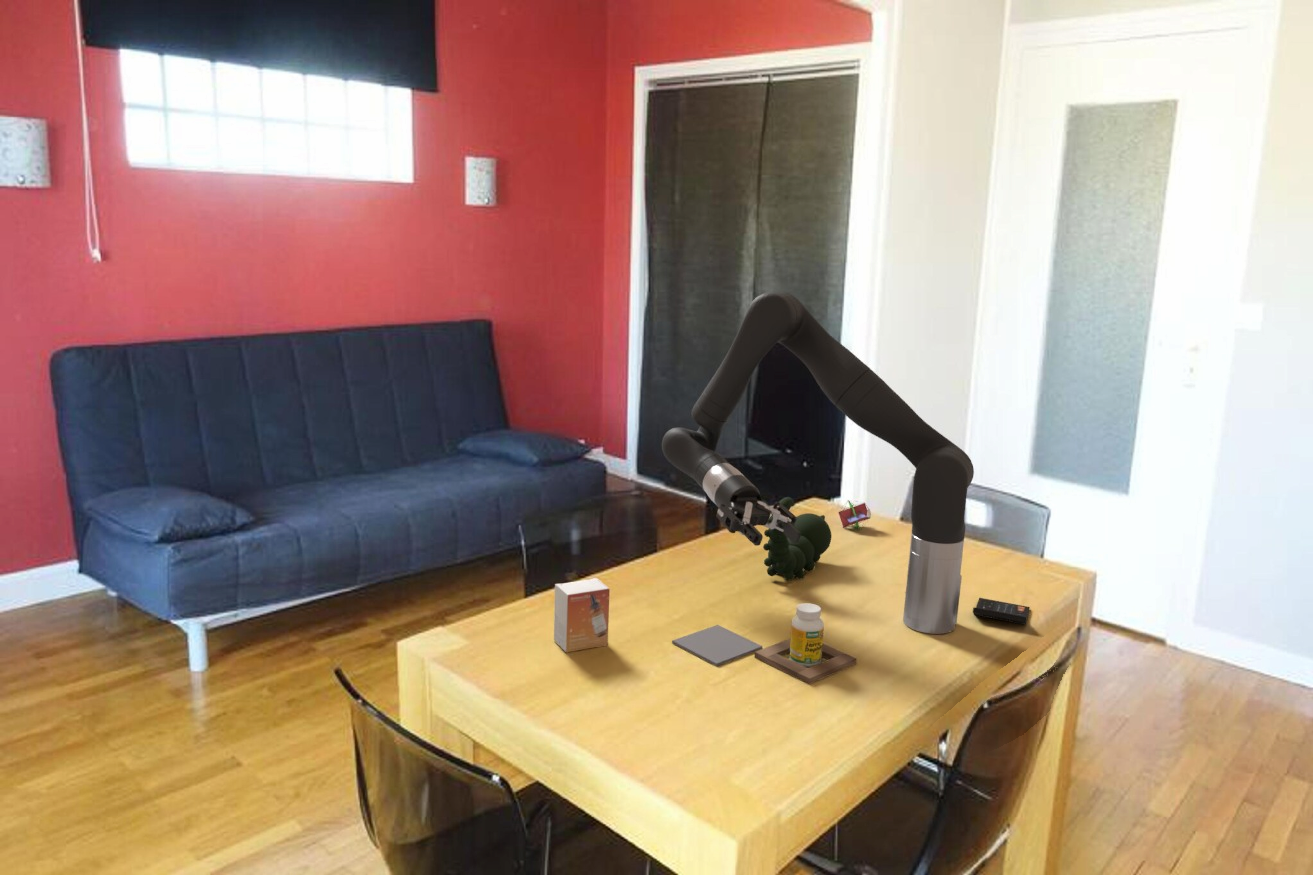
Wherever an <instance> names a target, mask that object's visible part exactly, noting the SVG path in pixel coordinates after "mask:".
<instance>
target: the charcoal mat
mask: <svg viewBox="0 0 1313 875" xmlns="http://www.w3.org/2000/svg"><path fill="white" fill-rule="evenodd" d="M671 643H672V645H675V646H677V647H678V648H680V649H683V650H684V651H686V652H688V653H690V654H692V655H694V656H696V657H697V658H700V659H702V660H704V661H706V662H708V663H709V664H711V665H713V666H715V667H719V666H721V665H724V664H726V663H729V662H731V661H732V662H733V661H734V660H736V659H737V660H738V659H740V658H742V657H745V656H747V655H749V654H753V653H755V652H756V651H759V650H761V649H763V646H762V645H761V644H759V643H757V642H754V641H753V640H750V639H748V638H746V637H744V636H742V635H740V634H738V633H736V632H734V631H731V630H729V629H728V628H725V627H723V626H721V625H719V624H716V625H713V626H710V627H707V628H705V629H700V630H699V631H696V632H693V633H690V634H687V635H684V636H681V637H678V638H675V639H672V640H671Z"/></svg>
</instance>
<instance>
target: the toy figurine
mask: <svg viewBox="0 0 1313 875" xmlns="http://www.w3.org/2000/svg"><path fill="white" fill-rule="evenodd" d="M779 502H780V503H781V504H782V505H783V506H784V507H786V508H787V509H788V510H789V511H790V509H791V508H792V507H793V506H794V505H795V501H794V499H793V498H792V497H790V496H787V497H783V498H782V499H781V500H779ZM796 517H797V520H796V522H795V525H794V526H795V527H796V528H797V529H798V530H799V531H800V532H801V537H800V539H799V542H798V543H793V542H792V541H791V540H790V539H789V538H788V537H787V536H786V535H785V534H784V533H783V532H782V531H780V530H778V529H775V528H774V529H770V528H768V529H765V530H764V534H763V536H765V537H767V538H768V541H767V542H766V543H764V544H763V546H762V547H763V549H764V551H768V552H767V555H768V556H767V557H766V558H765V559H764V562H763V564H764V565H765V567H767V569H766V572H767V575H768V576H771V577H774V576H776V575H777V574H778V575H783V577H784V579H785V580H786V581H792V580H793V579H794V578H796V579H798V580H802V579H804V578H805V575H806V573H805V571H806V572H811V571H813V570H815V567H816V563H817V562H818V561H820V560H821V559H820V558H821V556H822V555H823V554H824V553H825V552H826V551H827V550H828V548H830V544H831V540H832V531H831V528H830V526H829V524H828V522H827V520H826V516H825V515H824V514H823V515H818V514H815V513H811V512H810V513H807V512H806V513H801V514H799V515H797V516H796ZM772 520H773V515H772V514H770V518H769V521H768V522H770V523H772ZM777 523H778V524H779V525H781V526H782V525H783V524H782V523H780V522H779V521H777Z"/></svg>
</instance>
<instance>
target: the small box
mask: <svg viewBox="0 0 1313 875" xmlns="http://www.w3.org/2000/svg"><path fill="white" fill-rule="evenodd" d="M609 612H610V588H609V587H608V586H607V585H606V584H605V583H603V582H602V581H601V580H600V579H598V578H597V577H593V578H590V579H584V580H577V581H571V582H564V583H555V584H554V612H553V613H554V616H553V618H554V620H553V621H554V623H553V627H554V628H553V640H554V642H555V643H556V644H557V645H558V646H559V647H560V648H561V649H562V650H563V651H564V652H565V653H570V652H576V651H581V650H587V649H593V648H600V647H607V646H608V645H609V622H610V621H609V619H610V618H609V617H610V613H609Z"/></svg>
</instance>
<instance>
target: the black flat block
mask: <svg viewBox="0 0 1313 875" xmlns="http://www.w3.org/2000/svg"><path fill="white" fill-rule="evenodd" d="M1030 608H1031V606H1027V605H1026V606H1025V605H1021V604H1016V603H1010V602H1004V601H999V600H994V599H988V598H982V597H979V599H978V601H977V603H976V607H973V609H972V614H973V615H974V616H979V617H985V618H989V619H990V618H991V619H993V620H994V619H995V620H1000V621H1005V622H1011V623H1015V624H1016V623H1017V624H1019V625H1020V624H1021V625H1027V622H1028V618H1029V612H1030Z"/></svg>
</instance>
